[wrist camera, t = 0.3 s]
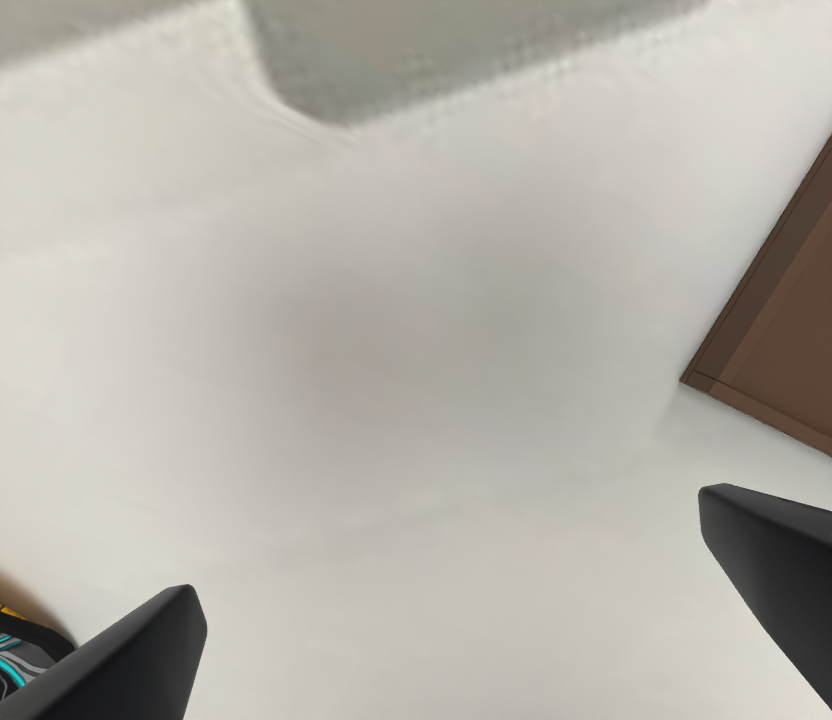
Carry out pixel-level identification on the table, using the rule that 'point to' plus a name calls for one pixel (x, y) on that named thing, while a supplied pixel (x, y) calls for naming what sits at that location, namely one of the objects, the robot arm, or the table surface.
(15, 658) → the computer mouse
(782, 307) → the tray
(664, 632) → the table surface
